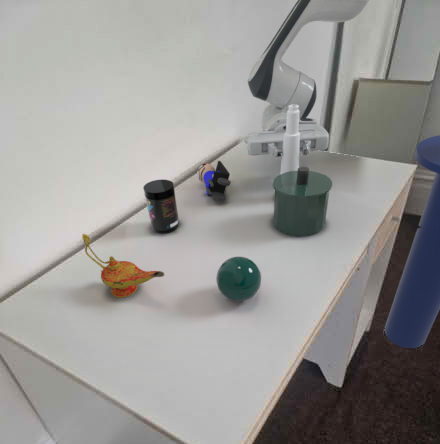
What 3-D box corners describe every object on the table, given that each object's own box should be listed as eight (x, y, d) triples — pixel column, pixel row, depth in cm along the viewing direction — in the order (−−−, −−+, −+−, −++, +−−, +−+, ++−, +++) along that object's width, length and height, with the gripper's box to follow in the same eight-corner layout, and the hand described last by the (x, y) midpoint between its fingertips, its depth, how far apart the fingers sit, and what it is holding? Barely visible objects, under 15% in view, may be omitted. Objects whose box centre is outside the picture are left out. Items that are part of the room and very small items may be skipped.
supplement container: (163, 217, 92) (156, 177, 86) (185, 223, 89) (179, 182, 83) (146, 230, 88) (136, 189, 81) (168, 237, 85) (160, 195, 78)
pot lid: (300, 170, 87) (302, 152, 84) (344, 187, 79) (347, 168, 76) (260, 187, 82) (260, 169, 79) (303, 207, 74) (305, 187, 71)
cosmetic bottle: (297, 203, 93) (305, 109, 79) (274, 201, 95) (277, 109, 80) (301, 193, 97) (309, 101, 83) (278, 191, 99) (282, 101, 84)
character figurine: (209, 208, 95) (198, 185, 106) (236, 202, 95) (222, 179, 107) (204, 180, 90) (192, 158, 101) (233, 173, 90) (218, 152, 101)
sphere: (236, 317, 64) (234, 281, 59) (209, 294, 69) (205, 259, 64) (270, 297, 68) (271, 262, 62) (242, 276, 73) (241, 242, 67)
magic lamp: (159, 315, 66) (147, 266, 59) (84, 289, 73) (65, 242, 65) (179, 292, 70) (171, 243, 63) (106, 270, 77) (91, 223, 70)
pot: (297, 206, 92) (300, 169, 86) (334, 223, 85) (341, 184, 79) (263, 222, 87) (263, 184, 81) (299, 242, 80) (303, 202, 74)
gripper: (243, 124, 96) (248, 143, 86) (321, 118, 96) (336, 135, 85) (243, 149, 100) (248, 169, 90) (319, 143, 100) (332, 162, 89)
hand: (292, 153), depth 88 cm, fingers open, 5 cm apart
